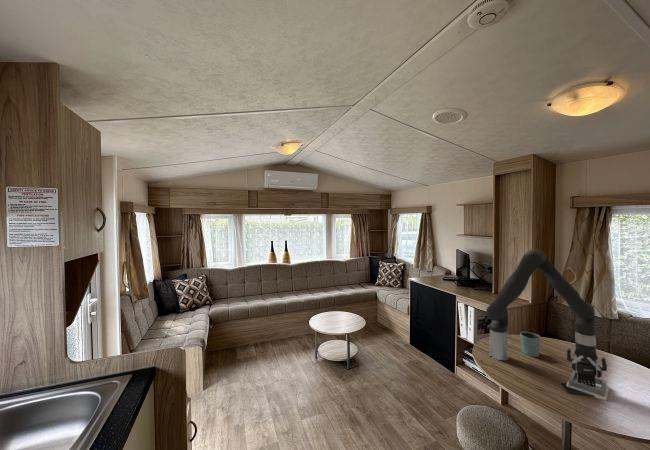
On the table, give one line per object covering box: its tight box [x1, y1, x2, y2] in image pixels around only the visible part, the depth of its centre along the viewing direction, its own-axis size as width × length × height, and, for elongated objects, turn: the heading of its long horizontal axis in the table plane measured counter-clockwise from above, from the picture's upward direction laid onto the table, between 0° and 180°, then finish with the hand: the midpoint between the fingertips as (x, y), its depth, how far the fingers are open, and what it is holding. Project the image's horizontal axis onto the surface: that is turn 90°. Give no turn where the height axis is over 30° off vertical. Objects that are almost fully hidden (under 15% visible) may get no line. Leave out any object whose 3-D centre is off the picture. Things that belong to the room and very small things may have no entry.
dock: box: [566, 370, 610, 402], centre depth 133 cm, size 14×14×4 cm
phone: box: [559, 382, 595, 398], centre depth 131 cm, size 8×1×15 cm
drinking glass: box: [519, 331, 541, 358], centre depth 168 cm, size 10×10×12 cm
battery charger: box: [576, 360, 597, 387], centre depth 133 cm, size 7×4×11 cm, turn 67°
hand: (586, 373), depth 133 cm, fingers open, 8 cm apart
